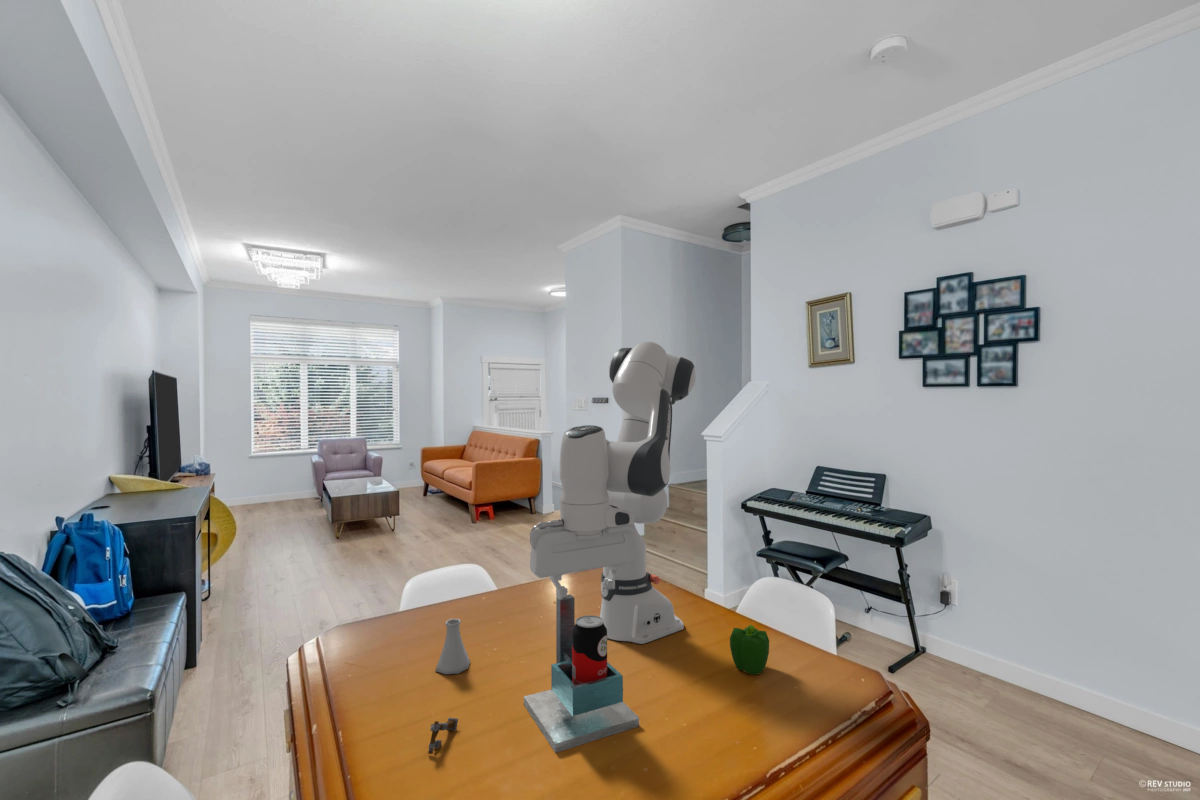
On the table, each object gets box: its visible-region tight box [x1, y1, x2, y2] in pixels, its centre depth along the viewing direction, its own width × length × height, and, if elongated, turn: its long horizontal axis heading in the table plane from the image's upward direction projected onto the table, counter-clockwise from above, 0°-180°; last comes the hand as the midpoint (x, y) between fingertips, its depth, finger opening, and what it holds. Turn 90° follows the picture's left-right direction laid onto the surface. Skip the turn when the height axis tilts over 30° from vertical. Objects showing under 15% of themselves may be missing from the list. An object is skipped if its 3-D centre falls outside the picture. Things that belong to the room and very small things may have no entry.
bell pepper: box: [729, 624, 770, 675], centre depth 115 cm, size 8×8×10 cm
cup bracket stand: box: [523, 593, 640, 754], centre depth 98 cm, size 16×16×20 cm
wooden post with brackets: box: [427, 717, 459, 755], centre depth 90 cm, size 2×8×4 cm, turn 169°
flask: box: [435, 618, 471, 675], centre depth 116 cm, size 7×7×10 cm
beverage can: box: [572, 615, 608, 686], centre depth 96 cm, size 6×6×12 cm
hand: (586, 593), depth 95 cm, fingers open, 8 cm apart
